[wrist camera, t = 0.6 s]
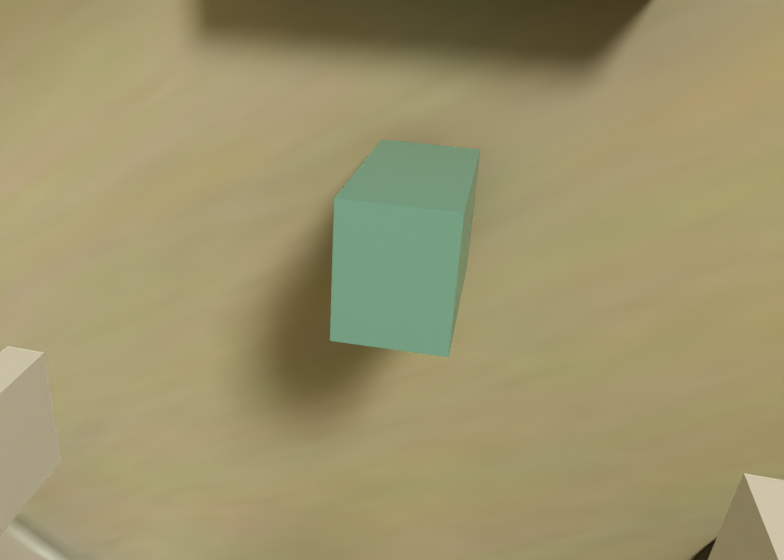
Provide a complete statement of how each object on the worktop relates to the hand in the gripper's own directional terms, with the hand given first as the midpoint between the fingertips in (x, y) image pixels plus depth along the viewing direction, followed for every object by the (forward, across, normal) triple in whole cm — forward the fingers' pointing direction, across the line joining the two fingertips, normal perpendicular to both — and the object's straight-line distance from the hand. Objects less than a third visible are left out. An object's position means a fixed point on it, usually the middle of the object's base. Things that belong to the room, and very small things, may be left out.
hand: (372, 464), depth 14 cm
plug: (+19, +1, +2) cm, 19 cm away
